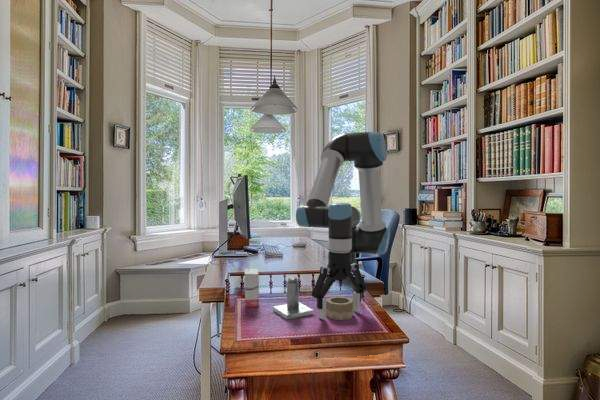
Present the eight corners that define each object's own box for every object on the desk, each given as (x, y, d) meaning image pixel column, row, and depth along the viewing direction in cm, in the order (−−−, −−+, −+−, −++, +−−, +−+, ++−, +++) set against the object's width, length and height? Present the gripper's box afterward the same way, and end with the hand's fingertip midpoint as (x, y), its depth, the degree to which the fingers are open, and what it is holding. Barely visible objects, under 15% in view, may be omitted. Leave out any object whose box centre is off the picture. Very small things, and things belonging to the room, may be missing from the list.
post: (298, 306, 150) (298, 273, 149) (313, 314, 142) (313, 280, 141) (273, 310, 145) (272, 277, 145) (286, 319, 137) (286, 284, 136)
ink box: (258, 307, 149) (258, 273, 149) (244, 307, 149) (244, 274, 148) (259, 299, 158) (258, 268, 157) (245, 300, 158) (245, 268, 157)
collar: (342, 309, 146) (342, 295, 146) (357, 316, 139) (357, 301, 139) (321, 313, 142) (322, 299, 142) (336, 321, 135) (336, 306, 135)
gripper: (363, 245, 149) (362, 305, 150) (300, 252, 136) (300, 317, 138) (377, 249, 142) (376, 311, 143) (313, 256, 130) (313, 325, 131)
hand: (339, 315), depth 141 cm, fingers open, 13 cm apart
